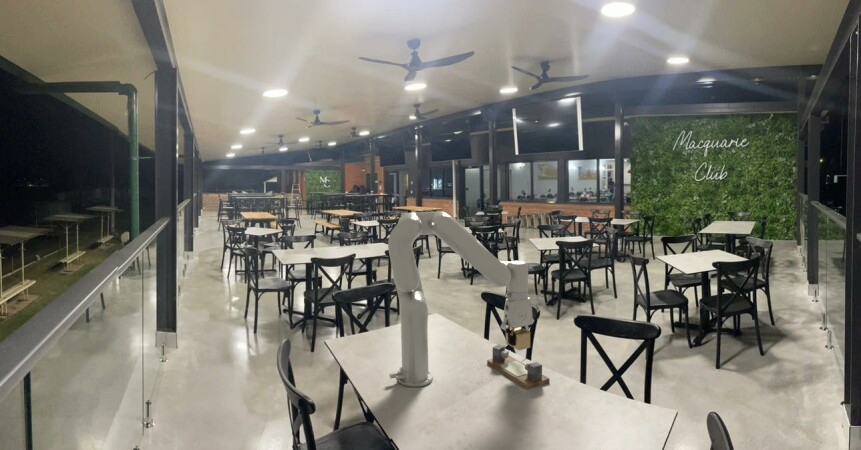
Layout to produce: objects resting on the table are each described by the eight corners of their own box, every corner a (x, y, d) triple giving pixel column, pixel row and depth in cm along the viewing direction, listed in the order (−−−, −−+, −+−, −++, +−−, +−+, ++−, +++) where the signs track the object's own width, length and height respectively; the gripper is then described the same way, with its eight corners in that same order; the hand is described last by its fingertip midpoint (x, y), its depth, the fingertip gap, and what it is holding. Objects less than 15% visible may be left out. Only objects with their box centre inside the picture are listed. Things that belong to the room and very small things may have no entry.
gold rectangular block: (519, 350, 169) (519, 334, 168) (505, 343, 176) (505, 327, 175) (530, 347, 171) (530, 331, 170) (516, 340, 178) (516, 325, 177)
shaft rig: (526, 389, 162) (527, 369, 161) (487, 363, 183) (487, 346, 182) (549, 382, 167) (549, 363, 166) (508, 358, 188) (508, 341, 187)
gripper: (504, 301, 164) (505, 351, 166) (542, 293, 172) (542, 341, 174) (492, 296, 171) (492, 344, 173) (529, 289, 178) (529, 335, 181)
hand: (517, 342), depth 173 cm, fingers closed on gold rectangular block, 5 cm apart
